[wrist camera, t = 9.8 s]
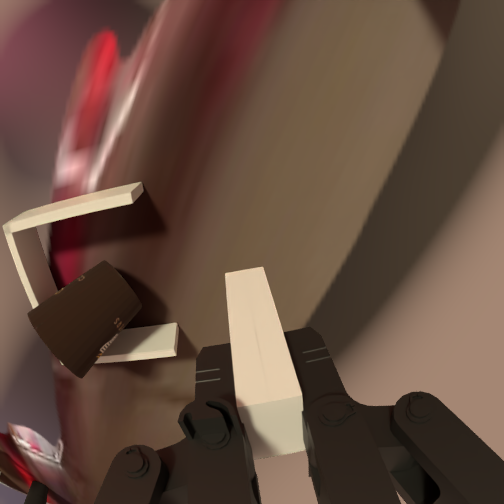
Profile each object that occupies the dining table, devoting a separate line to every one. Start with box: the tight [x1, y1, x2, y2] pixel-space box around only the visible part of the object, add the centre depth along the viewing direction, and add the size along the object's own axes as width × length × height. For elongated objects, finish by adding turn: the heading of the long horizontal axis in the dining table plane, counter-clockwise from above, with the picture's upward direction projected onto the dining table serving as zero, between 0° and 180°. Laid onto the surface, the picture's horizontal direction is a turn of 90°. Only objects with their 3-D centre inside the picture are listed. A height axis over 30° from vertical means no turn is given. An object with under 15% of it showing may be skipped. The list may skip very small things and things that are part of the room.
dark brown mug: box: [28, 260, 142, 378], centre depth 30 cm, size 12×9×10 cm
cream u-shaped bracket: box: [3, 182, 179, 365], centre depth 31 cm, size 15×18×5 cm
